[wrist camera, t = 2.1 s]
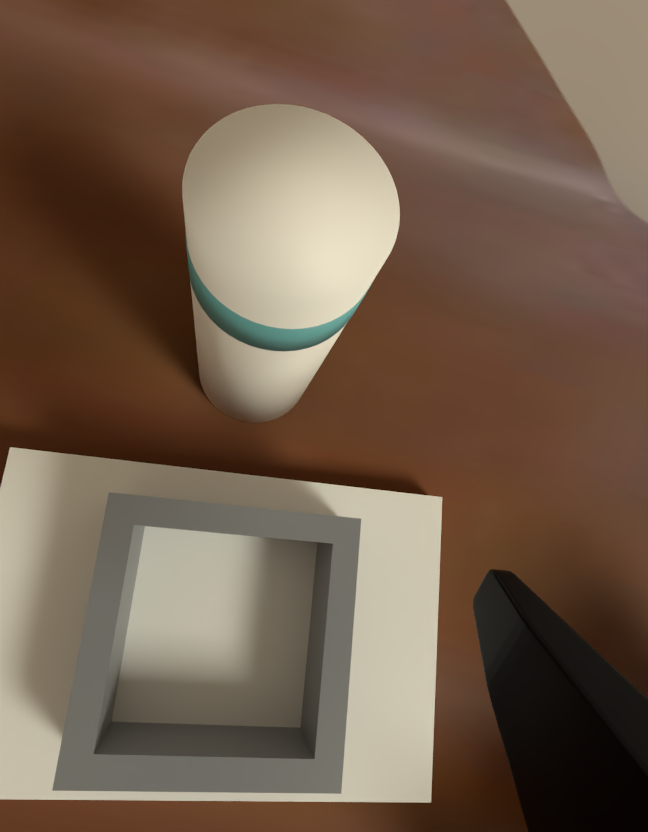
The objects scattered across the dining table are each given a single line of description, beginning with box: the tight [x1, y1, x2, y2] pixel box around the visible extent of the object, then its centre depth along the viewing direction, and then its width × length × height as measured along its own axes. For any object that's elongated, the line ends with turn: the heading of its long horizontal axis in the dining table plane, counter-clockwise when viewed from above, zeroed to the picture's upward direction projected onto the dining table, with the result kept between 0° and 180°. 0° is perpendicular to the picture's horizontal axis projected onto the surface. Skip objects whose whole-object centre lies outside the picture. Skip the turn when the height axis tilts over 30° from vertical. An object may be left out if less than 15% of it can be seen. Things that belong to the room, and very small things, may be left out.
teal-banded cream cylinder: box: [182, 104, 400, 423], centre depth 18 cm, size 5×5×13 cm
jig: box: [0, 447, 442, 803], centre depth 20 cm, size 12×18×4 cm, turn 84°
